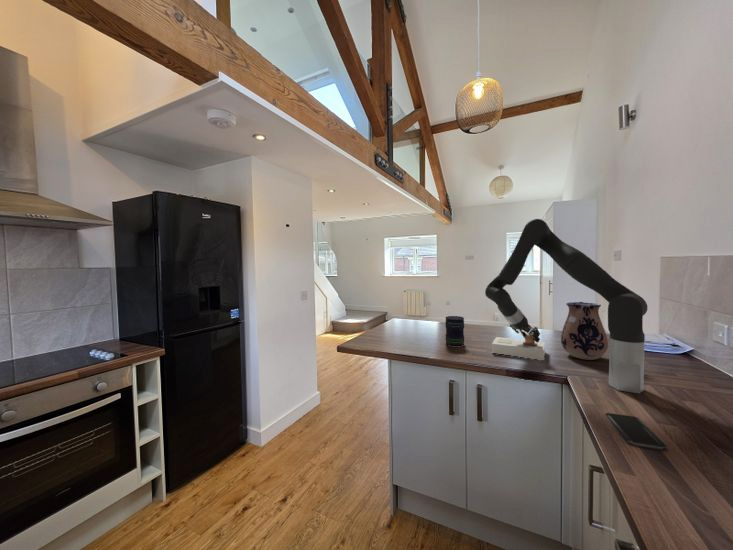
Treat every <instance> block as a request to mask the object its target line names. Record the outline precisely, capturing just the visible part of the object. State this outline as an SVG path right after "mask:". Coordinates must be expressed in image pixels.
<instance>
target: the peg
mask: <svg viewBox="0 0 733 550" xmlns="http://www.w3.org/2000/svg"><path fill="white" fill-rule="evenodd" d="M532 335H533V333H532ZM524 340H525V345H527V346H535V340H534V339H533V338H532V337H531V336H530V335H527V334H526V333H525V338H524Z"/></svg>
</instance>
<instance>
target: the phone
mask: <svg viewBox="0 0 733 550" xmlns="http://www.w3.org/2000/svg"><path fill="white" fill-rule="evenodd" d="M605 418H606V419H607V420H608V422H609V423H610V425H612V427H613V428H614V429H615V431H616V432H617V433H618V434H619V436H620V437H621V438H622V439H623V441H624V442H625V443H626V444H628V445H630V446H632V447H633V446H634V447H639V448H645V449H650V450H656V451H657V450H658V451H667V449H668V448H667V447H668V446H667V445H666V444H665V443H664V442H663V441H662V440H661V439H660V438H659V437H658V435H656V434H655V433H654V432H653V431H652V430H651V429H650V428H649V427H648V426H647V425H646V424H645V423H644V422H643V421H642V420H641V419H640V418H639V417H637V416H634V415H626V414H618V413H610V412H606V413H605Z"/></svg>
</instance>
